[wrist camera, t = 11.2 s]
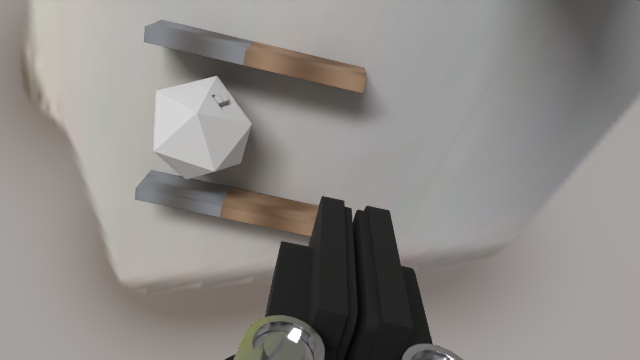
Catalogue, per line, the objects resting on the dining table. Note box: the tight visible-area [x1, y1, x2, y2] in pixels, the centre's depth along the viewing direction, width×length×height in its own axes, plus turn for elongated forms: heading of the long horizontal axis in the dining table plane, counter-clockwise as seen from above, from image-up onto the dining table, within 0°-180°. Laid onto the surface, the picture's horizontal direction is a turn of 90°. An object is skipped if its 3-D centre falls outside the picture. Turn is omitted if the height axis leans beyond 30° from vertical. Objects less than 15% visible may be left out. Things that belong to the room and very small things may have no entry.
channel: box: [135, 20, 367, 236], centre depth 42 cm, size 18×16×4 cm
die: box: [153, 76, 252, 179], centre depth 40 cm, size 8×9×10 cm
